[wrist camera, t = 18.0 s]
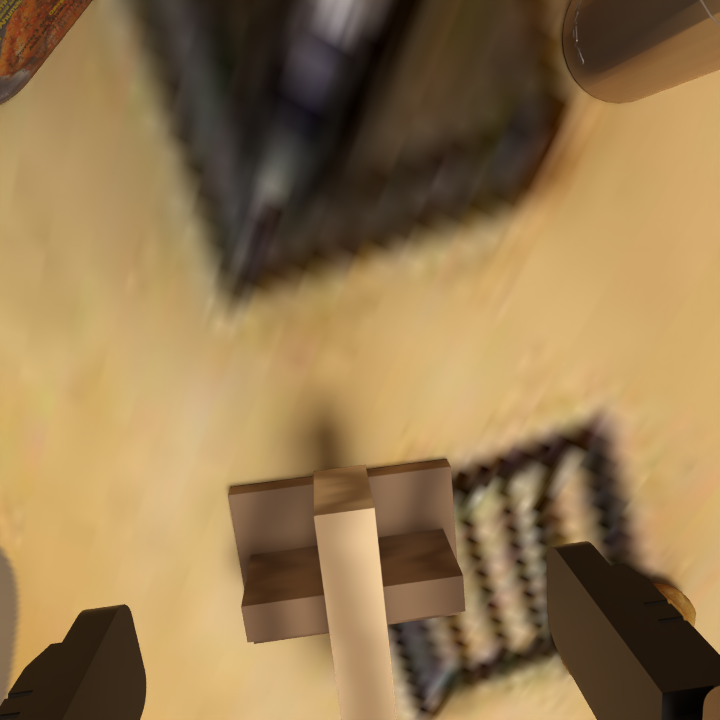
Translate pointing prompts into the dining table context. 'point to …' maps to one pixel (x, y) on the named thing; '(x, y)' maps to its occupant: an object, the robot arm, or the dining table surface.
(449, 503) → the stand
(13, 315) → the dining table surface
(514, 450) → the dining table surface
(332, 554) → the oak bar
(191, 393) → the dining table surface
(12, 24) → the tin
